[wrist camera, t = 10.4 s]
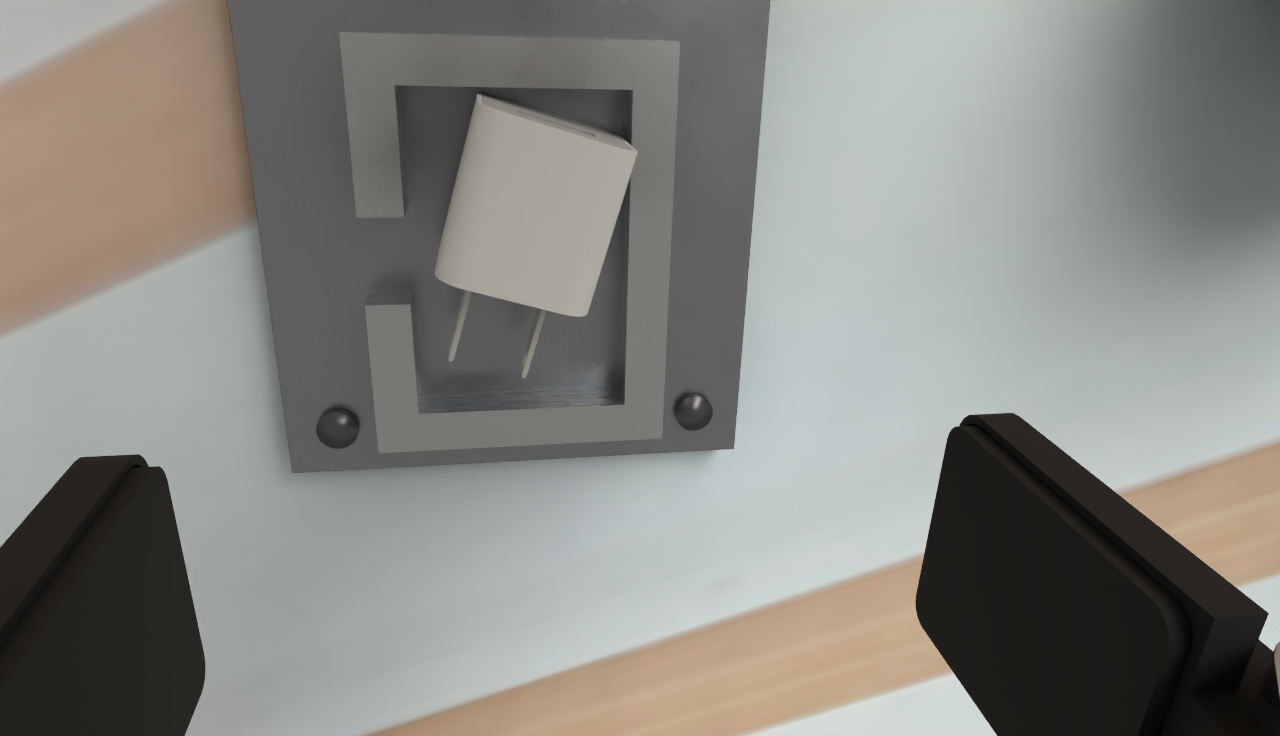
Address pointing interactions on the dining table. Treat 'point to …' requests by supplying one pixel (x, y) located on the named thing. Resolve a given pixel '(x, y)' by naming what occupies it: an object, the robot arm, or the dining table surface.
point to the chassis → (418, 205)
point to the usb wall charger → (532, 211)
